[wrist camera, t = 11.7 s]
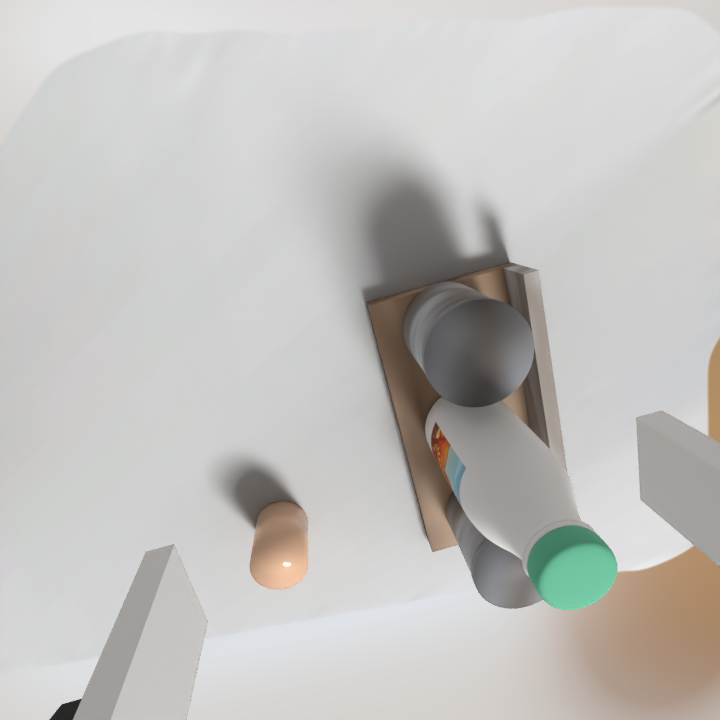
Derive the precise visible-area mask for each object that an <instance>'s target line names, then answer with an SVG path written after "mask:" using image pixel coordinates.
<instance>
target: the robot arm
mask: <svg viewBox="0 0 720 720" xmlns="http://www.w3.org/2000/svg"><path fill="white" fill-rule="evenodd" d="M636 422H637V441H638V460H639V479H640V498H641V500H642V501H643V502H644V503H645V504H646V505H648V506H649V507H650V508H651V509H652V510H653V511H655V512H656V513H657V514H658V515H659V516H660V517H662V518H663V519H664V520H665V521H666V522H667V523H669V524H670V525H671V526H672V527H673V528H675V529H676V530H677V531H678V532H679V533H680V534H682V535H683V536H684V537H685V538H686V539H687V540H689V541H690V542H691V543H692V544H693V545H694V546H696V547H697V548H698V549H699V550H700V551H702V552H703V553H704V554H705V555H706V556H707V557H708V558H710V559H711V560H712V561H713V562H714V563H716V564H717V565H718V566H719V567H720V443H719V442H717V441H715V440H714V439H712V438H710V437H708V436H707V435H705V434H703V433H701V432H699V431H698V430H696V429H694V428H692V427H690V426H689V425H687V424H685V423H683V422H682V421H680V420H678V419H676V418H674V417H673V416H671V415H669V414H667V413H665V412H664V411H658V412H655V413H651V414H648V415H644V416H640V417H637V418H636ZM207 622H208V621H207V619H206V617H205V614H204V612H203V610H202V607H201V605H200V603H199V600H198V598H197V596H196V594H195V591H194V589H193V587H192V584H191V582H190V580H189V577H188V575H187V573H186V570H185V568H184V566H183V563H182V561H181V559H180V556H179V554H178V552H177V550H176V547H175V545H174V544H173V545H169V546H166V547H162V548H158V549H155V550H151V551H148V552H146V553H145V555H144V558H143V560H142V562H141V564H140V567H139V569H138V571H137V574H136V576H135V578H134V580H133V583H132V585H131V587H130V590H129V592H128V594H127V597H126V599H125V601H124V603H123V606H122V608H121V610H120V613H119V615H118V617H117V619H116V622H115V624H114V626H113V629H112V631H111V633H110V636H109V638H108V640H107V642H106V645H105V647H104V649H103V652H102V654H101V656H100V658H99V661H98V663H97V665H96V668H95V670H94V673H93V675H92V677H91V679H90V681H89V684H88V686H87V688H86V691H85V693H84V695H83V698H82V699H80V700H76V701H73V702H69V703H65V704H62V705H61V706H60V707H59V709H58V710H57V711H56V712H55V714H54V715H53V716H52V717H51V719H50V720H187V716H188V711H189V706H190V702H191V697H192V692H193V688H194V683H195V678H196V674H197V669H198V664H199V660H200V655H201V650H202V646H203V641H204V636H205V632H206V627H207Z"/></svg>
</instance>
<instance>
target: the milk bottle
mask: <svg viewBox="0 0 720 720" xmlns="http://www.w3.org/2000/svg"><path fill="white" fill-rule="evenodd" d="M425 435H426V439H427V442H428V444H429V447H430V449H431V451H432V453H433V455H434V457H435V459H436V461H437V462H438V464H439V466H440V468H441V470H442V472H443V474H444V476H445V478H446V480H447V481H448V483H449V485H450V487H451V489H452V491H453V493H454V494H455V496H456V498H457V500H458V502H459V503H460V505H461V507H462V508H463V510H464V512H465V513H466V515H467V517H468V518H469V520H470V521H471V522H472V523H473V525H474V526H475V527H476V528H477V529H478V530H479V531H480V532H481V533H482V534H483V535H484V536H485V537H486V538H487V539H489V540H490V541H491V542H493V543H494V544H496V545H498V546H499V547H501V548H503V549H505V550H507V551H509V552H511V553H513V554H514V555H516V556H517V557H518V558H520V559H521V560H522V564H523V568H524V570H525V572H526V574H527V575H528V577H529V578H530V580H531V582H532V584H533V586H534V588H535V589H536V591H537V592H538V594H539V595H540V596H541V598H542V599H543V600H544V601H546V602H547V603H548V604H550V605H551V606H553V607H555V608H558V609H563V610H576V609H581V608H584V607H587V606H589V605H591V604H593V603H595V602H597V601H598V600H599V599H601V598H602V597H603V596H604V595H605V594H606V593H607V592H608V590H609V589H610V588H611V587H612V585H613V583H614V581H615V578H616V575H617V562H616V559H615V556H614V554H613V552H612V551H611V549H610V548H609V547H608V545H607V544H606V543H605V542H604V541H603V540H602V539H601V538H600V537H599V536H598V535H597V534H596V533H595V531H594V530H593V529H592V528H591V527H590V526H589V525H588V524H586V523H584V522H582V521H581V519H580V517H579V514H578V511H577V505H576V498H575V493H574V489H573V486H572V483H571V480H570V478H569V476H568V474H567V472H566V470H565V468H564V467H563V465H562V464H561V462H560V461H559V459H558V458H557V457H556V456H555V455H554V453H553V452H552V451H551V450H550V449H549V448H548V447H547V446H546V445H545V443H544V442H543V441H542V440H541V439H540V438H539V437H538V436H537V435H536V434H535V433H534V432H533V431H532V430H531V429H530V428H529V427H528V426H527V425H526V424H525V423H524V422H523V421H522V420H521V419H520V418H519V417H518V416H517V415H516V414H515V413H514V412H513V411H512V410H511V409H510V408H509V407H508V406H507V405H506V404H504V403H503V402H502V401H499V402H497V403H494V404H492V405H488V406H484V407H464V406H459V405H456V404H454V403H451V402H449V401H448V400H446V399H444V398H443V397H441V398H439V399H438V400H437V401H436V403H435V404H434V405H433V406H432V408H431V410H430V411H429V414H428V416H427V419H426V424H425Z"/></svg>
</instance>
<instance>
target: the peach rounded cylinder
mask: <svg viewBox="0 0 720 720" xmlns="http://www.w3.org/2000/svg"><path fill="white" fill-rule="evenodd" d="M307 570H308V519H307V516H306V513H305V512H304V511H303V509H302V508H300V507H299V506H298V505H296V504H294V503H291V502H283V501H281V502H275V503H272V504H270V505H268V506H266V507H265V508H264V509H263V510H262V511H261V512H260V514H259V516H258V518H257V523H256V529H255V535H254V542H253V548H252V554H251V561H250V572H251V575H252V577H253V578H254V579H255V581H256V582H258V583H259V584H260V585H262V586H264V587H266V588H269V589H276V590H281V589H286V588H290V587H292V586H294V585H296V584H298V583H299V582H300V581H301V580H302V579H303V578H304V576H305V575H306V573H307Z"/></svg>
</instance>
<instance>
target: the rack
mask: <svg viewBox="0 0 720 720" xmlns="http://www.w3.org/2000/svg"><path fill="white" fill-rule="evenodd" d="M367 306H368V310H369V314H370V318H371V321H372V325H373V329H374V333H375V337H376V341H377V345H378V348H379V352H380V356H381V360H382V364H383V368H384V371H385V375H386V379H387V383H388V387H389V391H390V394H391V398H392V402H393V406H394V410H395V414H396V417H397V421H398V425H399V429H400V433H401V437H402V440H403V444H404V448H405V452H406V456H407V460H408V464H409V467H410V471H411V475H412V479H413V483H414V487H415V490H416V494H417V498H418V502H419V506H420V510H421V513H422V517H423V521H424V525H425V529H426V533H427V536H428V540H429V544H430V546H431V549H432V552H435V551H438V550H442V549H445V548H449V547H452V546H455V545H459V547H460V549H461V552H462V554H463V556H464V558H465V561H466V563H467V565H468V567H469V569H470V572H471V574H472V578H473V581H474V584H475V586H476V588H477V590H478V592H479V593H480V594H481V596H482V597H483V598H484V599H485V600H486V601H488V602H489V603H491V604H493V605H495V606H498V607H503V608H522V607H526V606H530V605H533V604H535V603H537V602H539V601H541V600H543V599H542V598H541V596H540V595H539V594H538V592H537V591H536V589H535V588H534V586H533V584H532V582H531V580H530V578H529V577H528V575H527V574H526V572H525V570H524V568H523V564H522V560H521V559H520V558H518V557H517V556H516V555H514V554H513V553H511V552H509V551H507V550H505V549H503V548H501V547H499V546H498V545H496V544H494V543H493V542H491V541H490V540H489V539H487V538H486V537H485V536H484V535H483V534H482V533H481V532H480V531H479V530H478V529H477V528H476V527H475V526H474V525H473V523H472V522H471V521H470V520H469V518H468V517H467V515H466V513H465V512H464V510H463V508H462V507H461V505H460V503H459V502H458V500H457V498H456V496H455V494H454V493H453V491H452V489H451V487H450V485H449V483H448V481H447V480H446V478H445V476H444V474H443V472H442V470H441V468H440V466H439V464H438V462H437V461H436V459H435V457H434V455H433V453H432V451H431V449H430V447H429V444H428V442H427V439H426V435H425V424H426V419H427V416H428V414H429V411H430V410H431V408H432V406H433V405H434V404H435V403H436V401H437V400H438V399H439V398H441V397H443V398H444V399H446V400H448V401H449V402H451V403H454V404H456V405H459V406H464V407H484V406H488V405H492V404H494V403H497V402H499V401H502V402H503V403H504V404H506V405H507V406H508V407H509V408H510V409H511V410H512V411H513V412H514V413H515V414H516V415H517V416H518V417H519V418H520V419H521V420H522V421H523V422H524V423H525V424H526V425H527V426H528V427H529V428H530V429H531V430H532V431H533V432H534V433H535V434H536V435H537V436H538V437H539V438H540V439H541V440H542V441H543V442H544V443H545V445H546V446H547V447H548V448H549V449H550V450H551V451H552V452H553V453H554V455H555V456H556V457H557V458H558V459H559V461H560V462H561V464H562V465H563V467H564V468H565V470H566V472H567V468H566V461H565V454H564V447H563V440H562V433H561V426H560V419H559V411H558V404H557V397H556V390H555V383H554V376H553V369H552V362H551V355H550V348H549V341H548V334H547V327H546V320H545V313H544V306H543V299H542V291H541V284H540V277H539V270H536V269H532V268H528V267H525V266H521V265H518V264H514V263H506V264H503V265H499V266H496V267H492V268H489V269H485V270H481V271H478V272H474V273H471V274H467V275H464V276H460V277H456V278H453V279H449V280H446V281H442V282H439V283H435V284H431V285H428V286H424V287H421V288H417V289H414V290H410V291H406V292H403V293H399V294H396V295H392V296H389V297H385V298H382V299H378V300H374V301H371V302H367Z"/></svg>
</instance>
